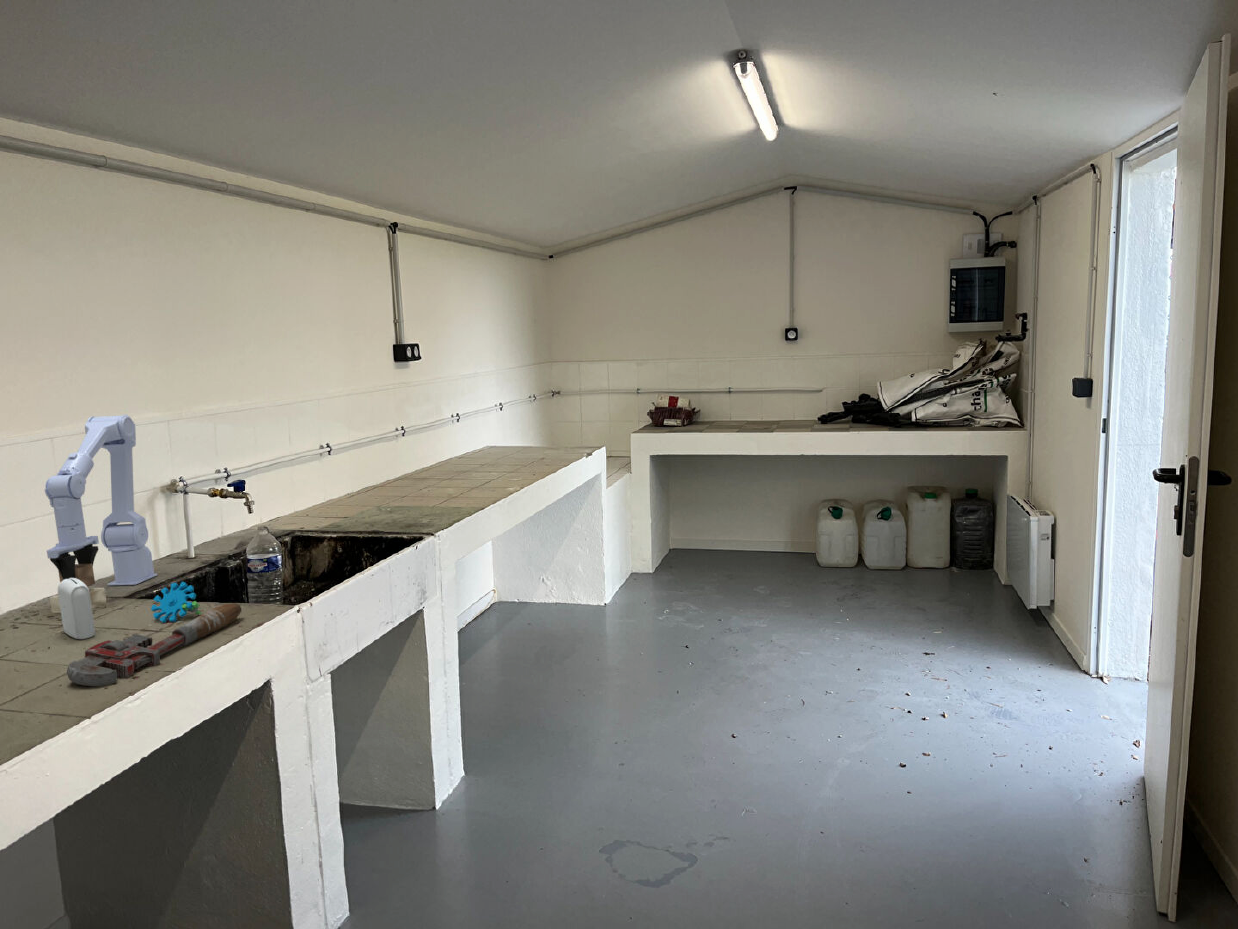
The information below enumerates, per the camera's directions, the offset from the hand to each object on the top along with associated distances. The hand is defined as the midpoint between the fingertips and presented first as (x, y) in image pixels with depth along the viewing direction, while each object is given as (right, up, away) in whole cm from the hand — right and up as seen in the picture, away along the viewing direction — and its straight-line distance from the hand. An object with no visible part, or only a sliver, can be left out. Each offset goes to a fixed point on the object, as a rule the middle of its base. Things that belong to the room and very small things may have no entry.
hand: (78, 580), depth 215 cm
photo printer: (+13, -9, -21) cm, 26 cm away
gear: (+30, -7, -13) cm, 33 cm away
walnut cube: (0, -2, 0) cm, 2 cm away
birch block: (0, -7, +1) cm, 7 cm away
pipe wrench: (+37, -10, -34) cm, 51 cm away
